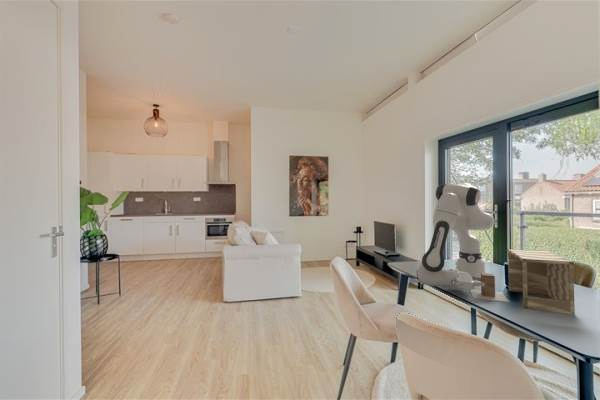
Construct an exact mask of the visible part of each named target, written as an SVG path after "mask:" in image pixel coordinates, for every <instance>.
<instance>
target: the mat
mask: <svg viewBox="0 0 600 400" xmlns="http://www.w3.org/2000/svg"><path fill="white" fill-rule="evenodd" d="M469 292H470V294H471V297H472V298H473V299H475V300H476V299H477V300H484V301H485V300H486V301H494V302H495V301H496V302H502V303H510V300H509V299H508V298H507V297H506V296H505V294H504V292H501V291H495V297H488V296H483V295H482V293H481V289H480V290H479V289H472V290H471V289H469Z"/></svg>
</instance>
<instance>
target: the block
mask: <svg viewBox="0 0 600 400" xmlns="http://www.w3.org/2000/svg"><path fill="white" fill-rule="evenodd" d="M480 282H484V283H485V286H480V290H481V293H482V295H483V296H488V297H495V292H496V276H495V275H494V274H493V273H487V272H485V273H481V281H480Z"/></svg>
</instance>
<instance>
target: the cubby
mask: <svg viewBox="0 0 600 400" xmlns="http://www.w3.org/2000/svg"><path fill="white" fill-rule="evenodd" d="M507 262H508V263H507V266H508V291H509V292H516V293H522V297H523V299H522V300H523V301H522V302H523V309H526V310H534V311H542V312H543V311H544V312H552V313H559V314H566V315H567V314H569V315H575V314H576V312H575V310H576V309H575V308H576V307H575V279H574V277H575V276H574V275H575V274H574V273H575V272H574V271H575V270H574V261H572V260H570V259H568V258H565V257H563V256H561V255H559V254H557V253H554V252H552V251H550V250H535V249H534V250H533V249H511V248H508V249H507ZM528 294H536V295H544V296H545V295H546V296H548V297H550V298H547V297H538V296H528Z"/></svg>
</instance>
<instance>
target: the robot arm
mask: <svg viewBox="0 0 600 400" xmlns="http://www.w3.org/2000/svg"><path fill="white" fill-rule="evenodd" d="M435 197H436V198H435V199H436V200H438V201H437V203H436V206H435V209H434V213H433V221H432V225H433V234H432V238H431V242H430V245H429V248H428V250H427V251H426V252H425V253H424V254H423V256H422V257H421V262H420V265H418V268H417V269H416V270H415V271H416V278H417V281H418V282H419V283H420V284H422V285H424V286H430V287H442V288H449V289H456V287H457V288H458V289H463V290H464V289H465V290H470V289H471V290H472V289H473V290H475V287H476V288H477V287H481V286H485V283H484V282H481V273H486V266H485V265H486V264H485V261H484V260H483V259H482V251H481V241H480V239H479V238H478V237H476V236H475V235H473V234H470V233H469V231H487V230H488V231H489V230H491V229H492V228H493V227H494V225H495V219H494V216H493V215H491V214H490V213H488V212H486V211H484V210H482V209H481V208H480V207H479V205H478V204H479V202H480V200H481V190H480V189H479V188H478V187H475V186H473V185H471V184H470V183H466V182H465V183H464V182H462V183H460V184H459V183H458V184H457V183H455V184H454V183H453V184H452V183H451V184H450V183H441V184H439V185H438V186H437V187H436V190H435ZM451 231H453V232H454V233H455V235H456V236H457V238H458V243H459V251H458V258H457V260H456V261H455V269H453V268H452V269H451V268H450V269H443V268H444V266H445V258H444V249H445V247H446V246H445V245H446V242H447V239H448V236H449V234H450V232H451Z"/></svg>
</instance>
